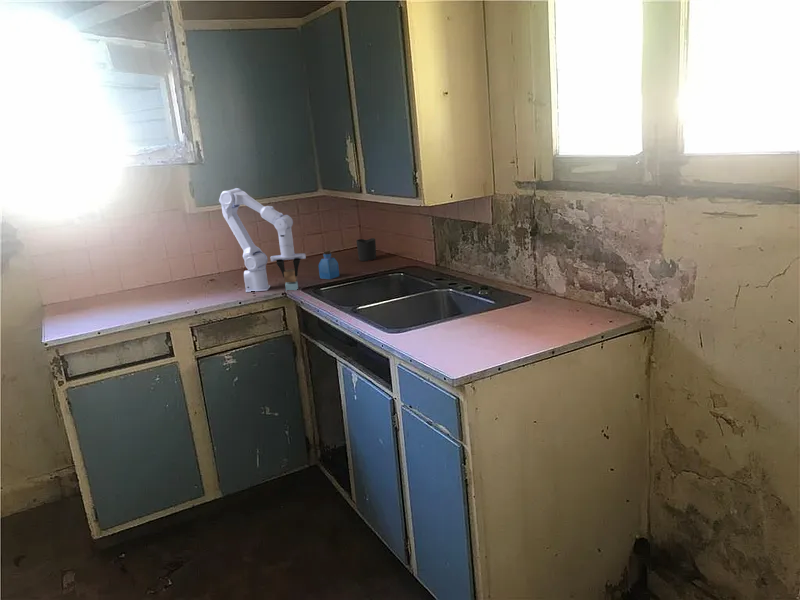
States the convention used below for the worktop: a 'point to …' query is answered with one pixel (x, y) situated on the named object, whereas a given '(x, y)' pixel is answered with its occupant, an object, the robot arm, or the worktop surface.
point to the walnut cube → (290, 275)
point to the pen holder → (366, 249)
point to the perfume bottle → (328, 266)
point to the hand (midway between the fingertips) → (290, 276)
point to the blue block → (291, 285)
